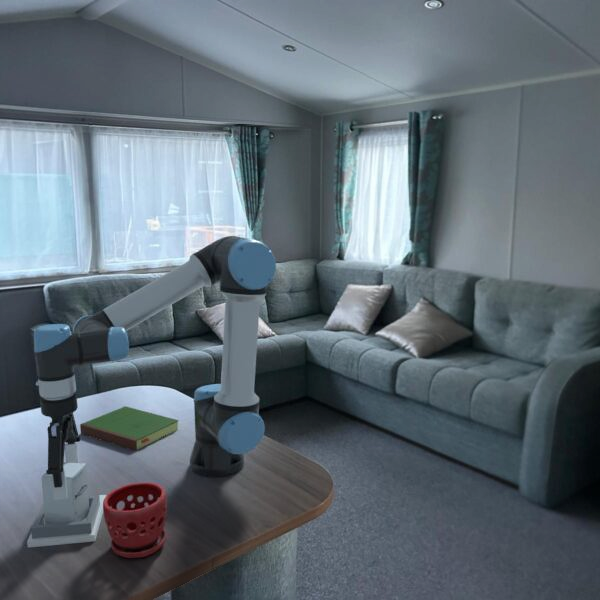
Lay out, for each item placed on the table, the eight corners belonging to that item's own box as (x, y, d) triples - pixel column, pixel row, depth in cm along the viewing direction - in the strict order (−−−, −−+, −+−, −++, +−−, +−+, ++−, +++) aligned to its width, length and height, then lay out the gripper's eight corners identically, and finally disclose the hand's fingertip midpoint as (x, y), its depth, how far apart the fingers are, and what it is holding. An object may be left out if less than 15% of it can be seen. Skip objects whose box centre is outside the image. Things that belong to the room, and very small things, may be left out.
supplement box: (75, 530, 134) (71, 477, 131) (44, 528, 134) (40, 475, 132) (90, 512, 141) (87, 462, 138) (61, 510, 142) (57, 460, 139)
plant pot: (159, 523, 139) (156, 475, 137) (175, 553, 128) (173, 501, 126) (100, 538, 133) (97, 488, 131) (112, 571, 122) (109, 517, 119)
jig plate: (106, 500, 149) (105, 485, 149) (95, 541, 132) (93, 524, 131) (47, 505, 147) (46, 490, 146) (27, 547, 130) (26, 530, 129)
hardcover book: (80, 435, 190) (80, 424, 189) (125, 416, 206) (125, 406, 205) (137, 453, 177) (137, 441, 177) (180, 431, 193) (180, 420, 192)
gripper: (53, 378, 143) (61, 460, 147) (24, 417, 119) (35, 514, 123) (85, 375, 144) (93, 457, 149) (64, 414, 120) (73, 510, 124)
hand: (67, 483), depth 136 cm, fingers open, 13 cm apart
